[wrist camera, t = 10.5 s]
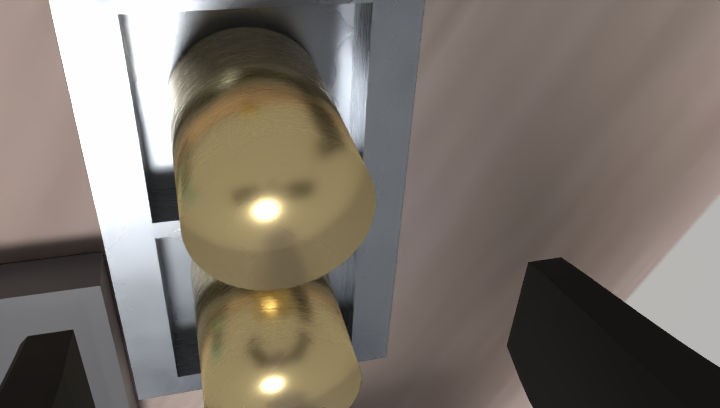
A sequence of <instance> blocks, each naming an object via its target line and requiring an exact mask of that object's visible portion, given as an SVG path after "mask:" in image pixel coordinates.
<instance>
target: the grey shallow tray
mask: <svg viewBox="0 0 720 408" xmlns="http://www.w3.org/2000/svg"><path fill="white" fill-rule="evenodd" d="M49 3H50V7H51V12H52V16H53V21H54V25H55V29H56V34H57V38H58V43H59V47H60V52H61V56H62V61H63V65H64V69H65V74H66V78H67V83H68V87H69V92H70V96H71V101H72V105H73V110H74V114H75V118H76V123H77V127H78V132H79V136H80V141H81V145H82V150H83V154H84V158H85V163H86V167H87V172H88V176H89V181H90V185H91V190H92V194H93V198H94V203H95V207H96V212H97V216H98V221H99V225H100V230H101V234H102V239H103V243H104V247H105V252H106V256H107V261H108V265H109V270H110V274H111V279H112V283H113V287H114V292H115V296H116V301H117V305H118V310H119V314H120V319H121V323H122V328H123V332H124V336H125V341H126V345H127V350H128V354H129V359H130V363H131V368H132V372H133V376H134V381H135V385H136V390H137V394H138V399H139V400H142V399H148V398H154V397H160V396H165V395H171V394H177V393H183V392H188V391H194V390H200V389H202V379H201V369H200V359H199V350H198V340H197V330H196V320H195V310H194V301H193V291H192V281H191V262H192V258H191V256H190V255H189V253H188V252H187V250H186V247H185V245H184V243H183V239H182V235H181V229H180V220H179V211H178V202H177V193H176V184H175V175H174V166H173V157H172V148H171V139H170V130H169V121H168V112H167V100H166V98H167V88H168V84H169V80H170V77H171V75H172V72H173V70H174V68H175V67H176V65H177V63H178V62H179V60H180V59H181V58H182V57H183V55H184V54H185V53H186V52H187V51H188V50H189V49H190V48H191V47H192V46H194V45H195V44H196V43H198V42H199V41H201V40H202V39H204V38H206V37H208V36H209V35H212V34H214V33H217V32H219V31H223V30H226V29H230V28H237V27H258V28H265V29H269V30H273V31H276V32H278V33H281V34H283V35H285V36H287V37H289V38H290V39H292V40H293V41H295V42H296V43H297V44H299V45H300V46H301V47H302V48H303V49H304V50H305V51H306V52H307V53H308V55H309V56H310V57H311V59H312V60H313V62H314V64H315V66H316V67H317V69H318V71H319V73H320V75H321V77H322V79H323V81H324V84H325V86H326V88H327V90H328V92H329V94H330V96H331V98H332V100H333V102H334V104H335V106H336V108H337V110H338V112H339V114H340V116H341V118H342V120H343V122H344V124H345V126H346V128H347V130H348V132H349V134H350V136H351V138H352V140H353V142H354V144H355V146H356V148H357V150H358V152H359V154H360V156H361V158H362V160H363V162H364V164H365V166H366V168H367V170H368V172H369V174H370V176H371V179H372V181H373V184H374V188H375V194H376V207H375V214H374V218H373V221H372V225H371V227H370V229H369V231H368V233H367V235H366V237H365V238H364V240H363V242H362V243H361V244H360V246H359V247H358V248H357V249H356V251H355V252H354V253H353V254H352V255H351V256H350V257H349V258H348V259H347V260H346V261H344V262H343V263H342V264H341V265H339V266H338V267H337V268H335V269H334V270H332V271H331V272H329V273H328V275H329V278H330V281H331V284H332V287H333V290H334V293H335V296H336V299H337V302H338V305H339V308H340V311H341V314H342V317H343V320H344V323H345V326H346V329H347V332H348V335H349V338H350V341H351V344H352V347H353V350H354V353H355V356H356V359H357V361H358V362H360V361H366V360H372V359H378V358H383V357H386V354H387V345H388V336H389V327H390V318H391V308H392V299H393V290H394V281H395V272H396V262H397V253H398V244H399V235H400V226H401V216H402V207H403V198H404V189H405V179H406V170H407V161H408V152H409V143H410V133H411V124H412V115H413V106H414V97H415V87H416V78H417V69H418V60H419V51H420V41H421V32H422V23H423V14H424V5H425V0H49Z"/></svg>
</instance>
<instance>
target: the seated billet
mask: <svg viewBox="0 0 720 408" xmlns="http://www.w3.org/2000/svg"><path fill="white" fill-rule="evenodd" d="M191 281H192V291H193V301H194V310H195V320H196V330H197V340H198V350H199V359H200V369H201V379H202V389H203V399H204V408H350V406H351V405H352V404H353V402H354V401H355V399H356V397H357V395H358V393H359V390H360V386H361V371H360V367H359V364H358V361H357V359H356V356H355V353H354V350H353V347H352V344H351V341H350V338H349V335H348V332H347V329H346V326H345V323H344V320H343V317H342V314H341V311H340V308H339V305H338V302H337V299H336V296H335V293H334V290H333V287H332V284H331V281H330V278H329V275H328V273H327V274H325V275H324V276H322V277H320V278H318V279H315V280H313V281H311V282H308V283H305V284H302V285H299V286H295V287H291V288H286V289H279V290H249V289H244V288H238V287H235V286H232V285H228V284H226V283H223V282H221V281H219V280H217V279H215V278H213V277H212V276H210V275H208V274H207V273H206V272H205V271H203V270H202V269H201V268H200V267H199V266H198V265H197V264H196V263H195V262H194V261H193V259H192V262H191Z"/></svg>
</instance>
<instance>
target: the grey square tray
mask: <svg viewBox="0 0 720 408" xmlns="http://www.w3.org/2000/svg"><path fill="white" fill-rule="evenodd" d="M72 329H73V330H74V334H75V337H76V341H77V344H78V348H79V351H80V355H81V358H82V362H83V365H84V369H85V372H86V376H87V379H88V383H89V386H90V390H91V393H92V397H93V400H94V404H95V407H96V408H138V407H137V403H136V398H135V394H134V390H133V385H132V381H131V377H130V372H129V368H128V363H127V359H126V355H125V350H124V346H123V342H122V337H121V333H120V328H119V324H118V320H117V315H116V311H115V307H114V302H113V298H112V294H111V289H110V285H109V280H108V276H107V272H106V267H105V263H104V259H103V254H102V252H98V253H90V254H82V255H74V256H66V257H58V258H50V259H42V260H34V261H25V262H17V263H9V264H1V265H0V385H1V383H2V381H3V379H4V377H5V375H6V373H7V371H8V369H9V367H10V365H11V363H12V361H13V359H14V357H15V355H16V352H17V350H18V348H19V346H20V344H21V342H22V341H23V340H24V339H25V338H26V337H27V336H32V335H38V334H45V333H52V332H59V331H65V330H72Z"/></svg>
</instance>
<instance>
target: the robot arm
mask: <svg viewBox="0 0 720 408" xmlns="http://www.w3.org/2000/svg"><path fill="white" fill-rule="evenodd" d="M507 347H508V350H509V353H510V355H511V358H512V360H513V363H514V365H515V368H516V371H517V373H518V376H519V378H520V380H521V383H522V385H523V387H524V390H525V392H526V394H527V397H528V399H529V401H530V403H531V405H532V407H533V408H720V367H718V366H717V365H715V364H714V363H712V362H710V361H709V360H707V359H706V358H704V357H703V356H701V355H700V354H698V353H697V352H695V351H694V350H692V349H691V348H689V347H688V346H686V345H685V344H683V343H682V342H680V341H679V340H677V339H676V338H674V337H673V336H671V335H670V334H668V333H667V332H666V331H664V330H663V329H661V328H660V327H658V326H657V325H656V324H654V323H653V322H651V321H650V320H649V319H647V318H646V317H644V316H643V315H641V314H640V313H639V312H637V311H636V310H635V309H633V308H632V307H630V306H629V305H627V304H626V303H625V302H623V301H622V300H621V299H619V298H618V297H617V296H615V295H614V294H612V293H611V292H610V291H608V290H607V289H605V288H604V287H603V286H601V285H600V284H598V283H597V282H596V281H594V280H593V279H592V278H590V277H589V276H587V275H586V274H585V273H583V272H582V271H580V270H579V269H577V268H576V267H574V266H573V265H572V264H570V263H569V262H567V261H566V260H564V259H563V258H561V257H560V258H554V259H547V260H540V261H533V262H528V266H527V269H526V273H525V277H524V281H523V285H522V289H521V293H520V297H519V300H518V304H517V308H516V312H515V316H514V320H513V324H512V328H511V331H510V335H509V339H508V343H507ZM0 408H96V407H95V404H94V400H93V397H92V393H91V390H90V386H89V383H88V379H87V376H86V372H85V369H84V365H83V362H82V358H81V355H80V351H79V348H78V344H77V341H76V337H75V334H74V330H73V329H72V330H65V331H59V332H52V333H45V334H38V335H32V336H27V337H26V338H25V339H24V340H23V341H22V342H21V344H20V346H19V348H18V350H17V352H16V355H15V357H14V359H13V361H12V363H11V365H10V367H9V369H8V371H7V373H6V375H5V377H4V379H3V381H2V383H1V385H0Z"/></svg>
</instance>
